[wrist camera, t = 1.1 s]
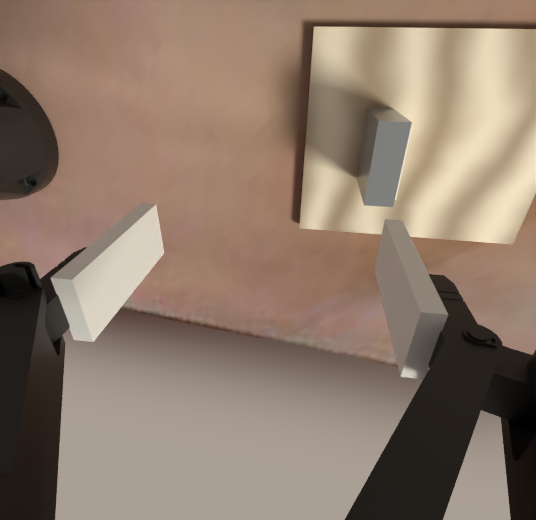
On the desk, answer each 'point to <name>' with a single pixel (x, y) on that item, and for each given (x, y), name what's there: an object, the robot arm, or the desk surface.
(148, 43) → the desk surface
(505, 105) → the board
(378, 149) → the tile
